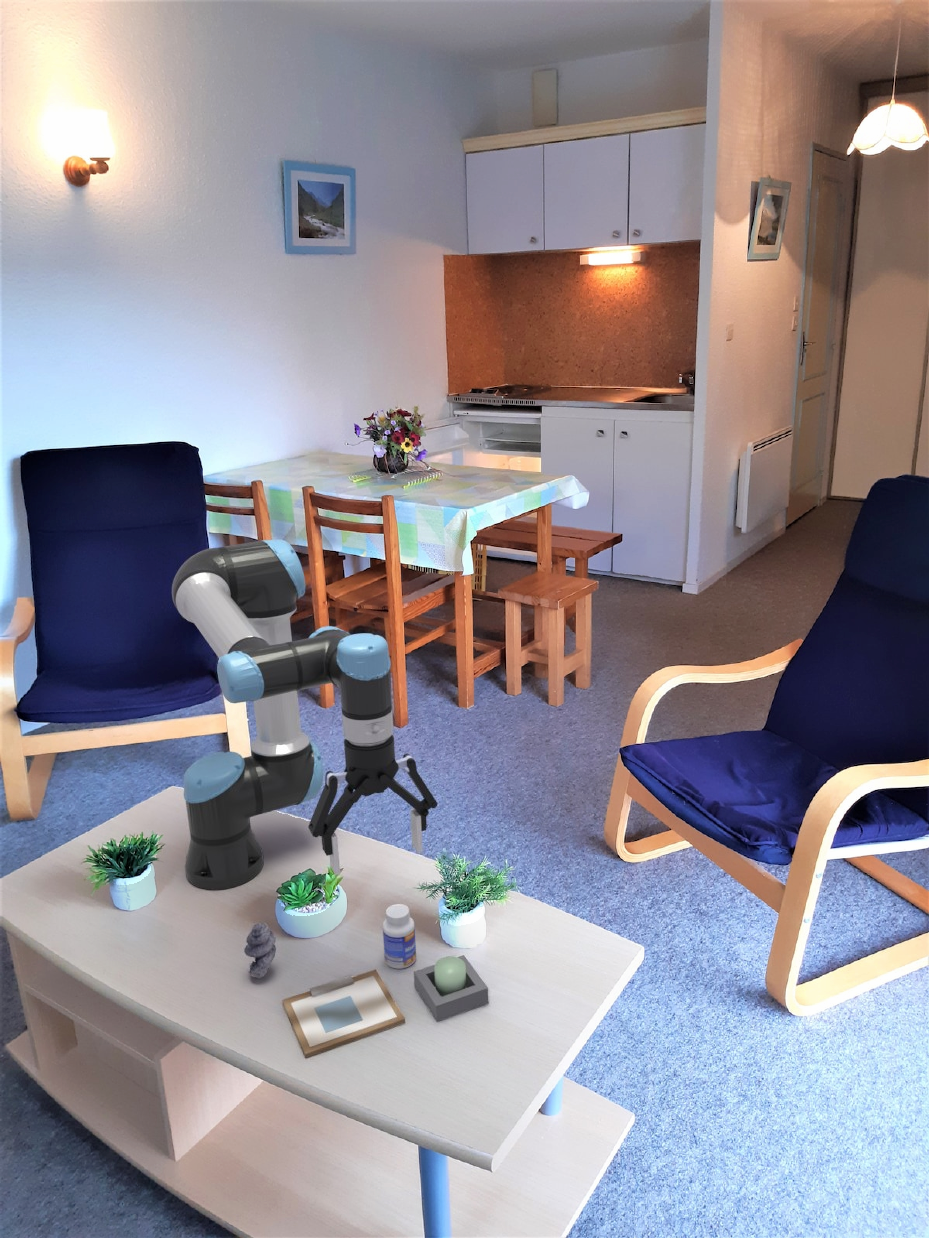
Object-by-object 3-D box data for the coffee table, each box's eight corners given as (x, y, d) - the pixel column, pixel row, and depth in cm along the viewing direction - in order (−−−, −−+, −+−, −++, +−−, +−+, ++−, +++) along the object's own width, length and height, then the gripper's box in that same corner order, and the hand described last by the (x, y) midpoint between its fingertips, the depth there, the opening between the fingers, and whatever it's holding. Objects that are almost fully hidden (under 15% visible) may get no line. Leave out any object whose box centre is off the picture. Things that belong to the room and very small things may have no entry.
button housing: (414, 986, 156) (413, 971, 155) (464, 969, 159) (463, 954, 158) (436, 1021, 148) (436, 1005, 147) (488, 1003, 152) (488, 987, 151)
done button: (430, 982, 154) (429, 962, 153) (458, 973, 156) (457, 952, 155) (442, 1001, 150) (442, 980, 149) (471, 991, 152) (470, 970, 151)
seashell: (245, 967, 161) (239, 918, 158) (277, 960, 163) (272, 911, 160) (249, 988, 156) (243, 937, 153) (281, 980, 158) (277, 929, 155)
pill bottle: (411, 971, 159) (409, 922, 156) (380, 967, 160) (377, 918, 157) (419, 950, 164) (417, 902, 161) (389, 947, 166) (386, 899, 162)
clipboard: (282, 1003, 153) (281, 995, 152) (376, 973, 159) (375, 965, 159) (305, 1058, 142) (304, 1049, 141) (405, 1022, 148) (404, 1014, 147)
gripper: (293, 764, 135) (305, 892, 141) (454, 729, 144) (459, 851, 151) (281, 743, 141) (293, 867, 148) (435, 711, 151) (440, 829, 157)
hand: (377, 859), depth 149 cm, fingers open, 13 cm apart
